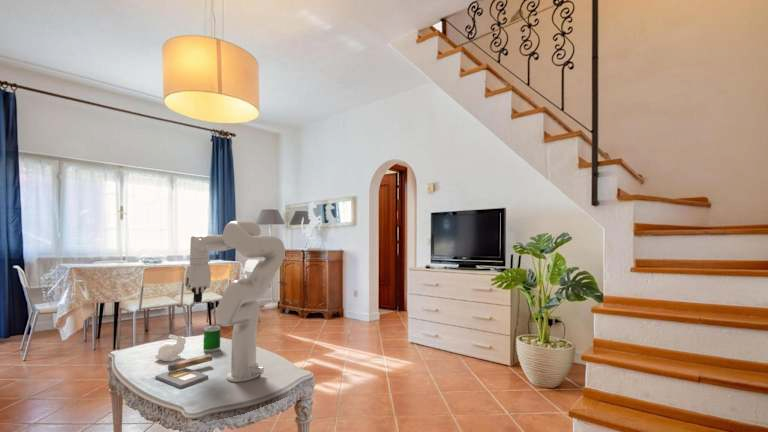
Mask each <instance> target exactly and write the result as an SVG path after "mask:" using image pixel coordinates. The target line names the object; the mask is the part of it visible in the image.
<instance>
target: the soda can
mask: <svg viewBox="0 0 768 432" xmlns="http://www.w3.org/2000/svg"><path fill="white" fill-rule="evenodd" d="M221 327H222V326H220V325H219V324H210V325H207V326H205V327H204V328H203V347H202V348H203V351H204V352H205V353H214V352H218V351H219V349H220V348H221V333H222V332H221Z"/></svg>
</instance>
